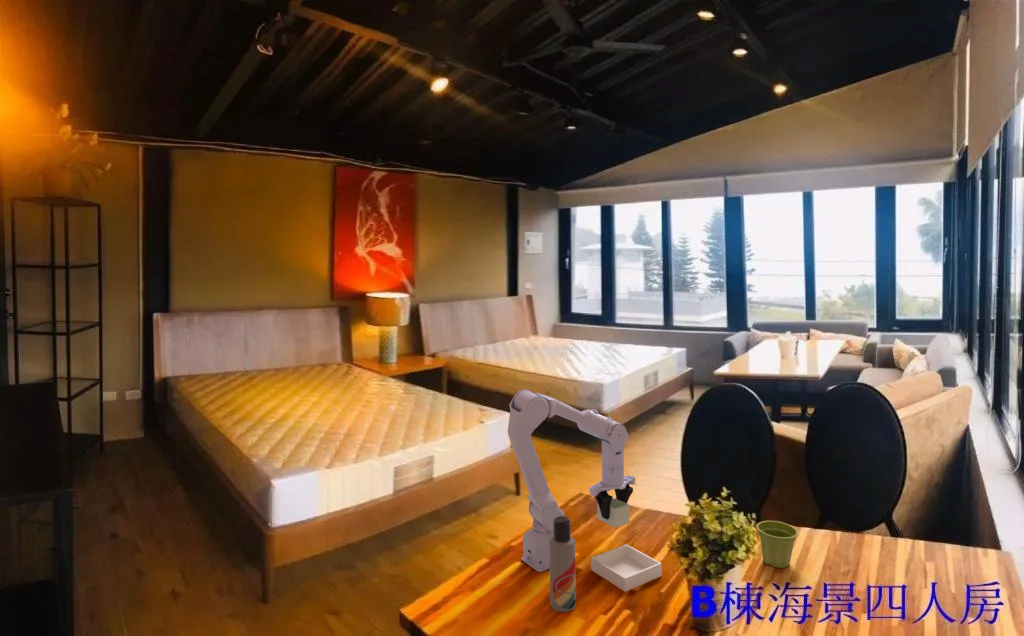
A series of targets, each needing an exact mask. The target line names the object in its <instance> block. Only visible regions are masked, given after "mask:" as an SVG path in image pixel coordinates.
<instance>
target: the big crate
mask: <svg viewBox="0 0 1024 636" xmlns="http://www.w3.org/2000/svg"><path fill="white" fill-rule="evenodd" d="M590 570H591V571H592V572H594V573H595V574H597V575H598V576H600V577H602V578H603V579H605V580H606V581H608V582H609V583H611V584H613V585H614V586H615V587H617V588H619V589H620V590H622V591H623V592H624V593H625V592H628V591H630V590H632V589H635V588H637V587H640V586H642V585H644V584H647V583H649V582H651V581H653V580H655V579H658V578H659V577H662V575H663V572H662V570H663V564H662V562H660V561H658V560H656V559H654V558H653V557H651V556H649V555H647V554H646V553H644V552H641V551H640V550H638V549H636V548H634V547H633V546H630V545H629V544H627V543H626V544H624V545H620V546H619V547H616V548H613V549H610V550H607V551H605V552H603V553H600V554H596V555H594V556H591V557H590Z"/></svg>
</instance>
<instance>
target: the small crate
mask: <svg viewBox="0 0 1024 636" xmlns="http://www.w3.org/2000/svg"><path fill="white" fill-rule="evenodd" d="M596 511H597V512H596V513H597V515H596V517H597V518H596V519H598V520H600V521H601V522H603V523H605V524H607V525H609V526H611V527H613V528H614V529H615V528H619V527H621V526H624V525H627V524H630V504H629V503H628V502H627V503H625V502H623V501H621V500H618V499H616V497H615V496H612V500H611V504H610V515H609V519H607V520H606V519H604V518H603V517H602V515H601V511H600V508H599V505H598V502H597V501H596Z"/></svg>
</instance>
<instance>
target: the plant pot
mask: <svg viewBox="0 0 1024 636" xmlns="http://www.w3.org/2000/svg"><path fill="white" fill-rule="evenodd" d="M756 529H757V530H758V534H759V536H760V546H761V552H762V553H761V554H762V555H761V556H762V561H763V562H764V563H765V564H767V565H770V566H772V567H774V568H780V569H781V568H782V569H783V568H787V567H788V566H790V563H791V559H792V554H793V549H794V543H795V542H796V537H798V536H799V530H798V529H797V528H796V527H794V526H793V525H791V524H788V523H785V522H782V521H779V520H764V521H760V522H758V523H757V524H756Z"/></svg>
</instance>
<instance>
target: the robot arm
mask: <svg viewBox="0 0 1024 636" xmlns="http://www.w3.org/2000/svg"><path fill="white" fill-rule="evenodd" d="M509 411H510V412H509V418H508V420H509V421H508V426H507V435H508V437H509V440H510V444H511V447H512V449H513V452H514V455H515V457H516V460H517V462H518V465H519V468H520V469H519V470H520V471H521V473H522V477H523V480H524V482H525V485H526V488H527V491H528V495H527V499H528V512H529V515H530V516H531V517H532V526H531V528H530V529H529V530H527V531H526V532H524V533H523V535H522V557H521V561H523V562H524V563H525V564H527V565H528V566H529V567H531V569H534V570H535V571H536V572H538V573H542V572H544V571H547V570H550V559H549V540H550V538H551V537H552V536H554V534H553V520H554V519H555V518H557V517H559V516H565V517H566V514H565V512H564V510H563V509H562V508H560V506H559V505H558V502H557V500H556V499H555V497H554V496H553V494H552V491H551V490H550V487H549V485H548V482H547V479H546V475H545V473H544V470H543V468H542V464H541V463H540V462H541V461H540V458H539V456H538V453H537V451H536V447H535V445H534V441H533V440H532V437H531V435H532V434H533V432H534V430H535V429H537V428H538V427H539V426H540V425H541V424H542V423H543V421H545V420H546V419H547V418H549V419H551V418H553V417H554V416H555V415H556V416H559V417H562V418H564V419H567V420H569V421H571V422H574V423H576V425H577V428H578V429H579V430H580V431H582V432H584V433H586V434H589V435H591V436H594V437H595V438H598V439H600V440H601V480H600V481H599V482H597V483H595V484H594V485H591V486H590V487H589V494H590V495H591V496H593V497H594V498H595V501H596V503H597V502H598V505H599V508H600V511H601V515H602V517H603V518H604V519H606V520H607V519H609V515H610V504H611V500H612V497H613V496H612V495H610V494H609V491H612V490H614V493H615V498H616V499H618V500H621V501H623V502H625V503H627V504H628V501H629V500H630V497H631V495H632V494H633V492H634V488H633V487H632V486H631V485H636V477H635V476H634V475H625V468H624V467H625V444H626V442H627V441H628V438H629V432H627V428H626V427H625V426H624V424H622V423H619V422H618V421H616V420H614V419H613V418H612V417H611V416H604V415H602V414H600V413H599V411H598V410H597V409H594V408H591V409H585V410H582V411H581V410H578V409H576V408H574V407H572V406H570V405H568V404H565V403H564V402H562V401H560V400H557V399H556V398H553V397H551V396H549V395H545V394H542V393H539V392H534V393H533V392H532V391H531V390H529V389H522V390H519V391H517V392H516V393H515V395H514V396H513V397H512V400H511V401H510V403H509Z"/></svg>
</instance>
